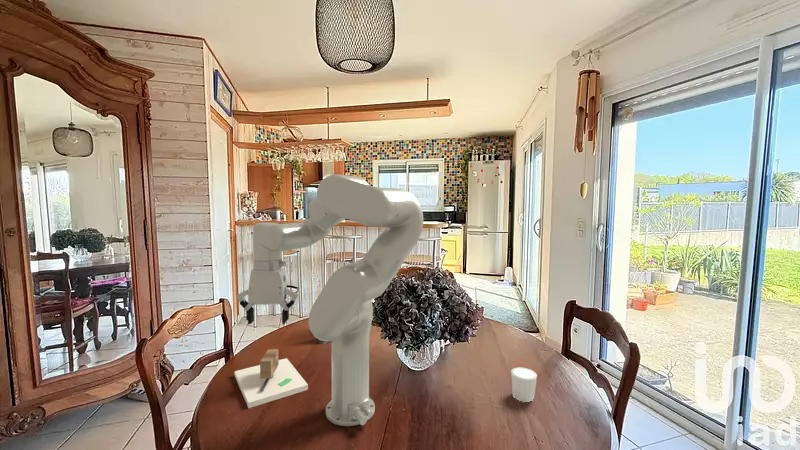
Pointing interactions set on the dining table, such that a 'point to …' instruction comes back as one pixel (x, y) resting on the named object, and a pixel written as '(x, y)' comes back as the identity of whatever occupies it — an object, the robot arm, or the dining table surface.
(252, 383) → the board
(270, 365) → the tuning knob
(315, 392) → the dining table surface
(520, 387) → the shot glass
